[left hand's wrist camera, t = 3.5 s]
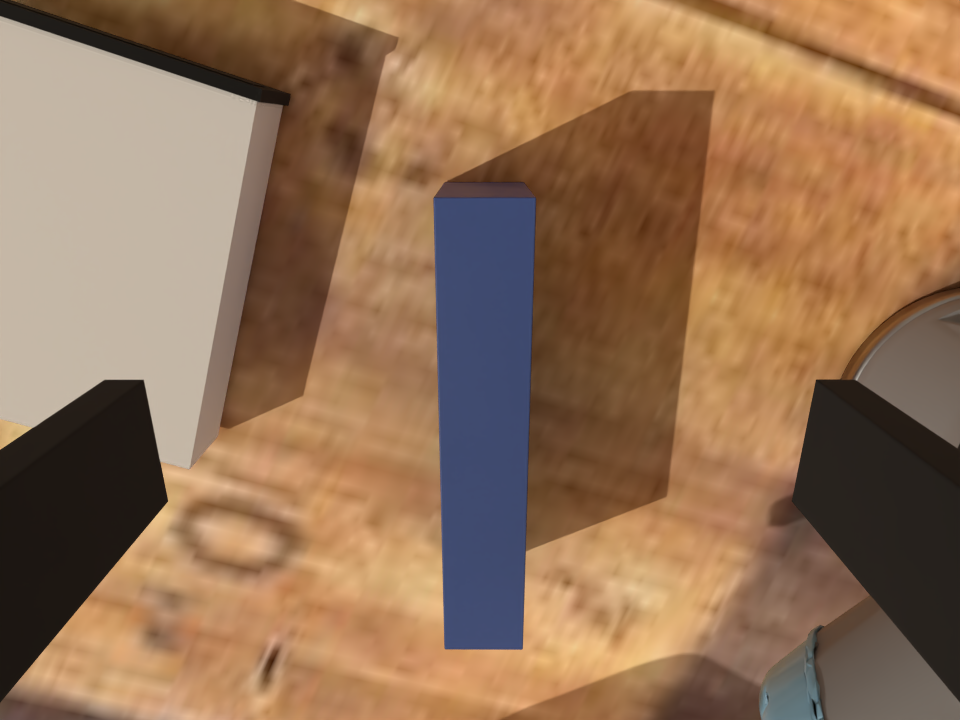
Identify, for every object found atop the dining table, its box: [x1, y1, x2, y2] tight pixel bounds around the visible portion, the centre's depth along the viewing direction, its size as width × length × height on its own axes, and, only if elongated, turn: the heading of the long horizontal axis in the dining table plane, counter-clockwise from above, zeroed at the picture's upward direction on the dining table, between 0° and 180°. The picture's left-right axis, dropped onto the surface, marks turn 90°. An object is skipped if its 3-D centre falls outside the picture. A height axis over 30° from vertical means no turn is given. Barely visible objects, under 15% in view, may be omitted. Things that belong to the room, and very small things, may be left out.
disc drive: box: [0, 0, 291, 469], centre depth 36 cm, size 18×22×5 cm
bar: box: [434, 182, 536, 650], centre depth 38 cm, size 26×5×9 cm, turn 0°
